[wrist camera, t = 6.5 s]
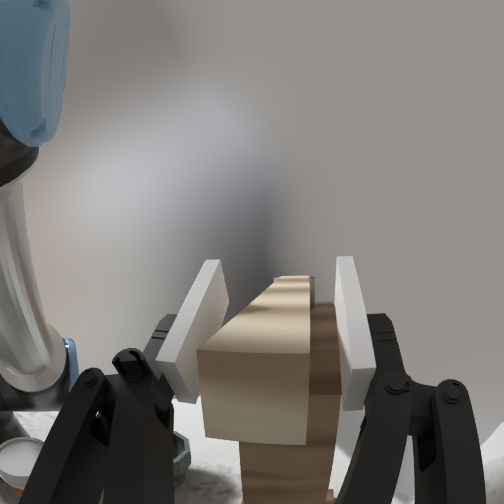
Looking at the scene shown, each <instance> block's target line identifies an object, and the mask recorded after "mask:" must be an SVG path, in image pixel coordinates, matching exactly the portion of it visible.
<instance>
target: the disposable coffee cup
mask: <svg viewBox="0 0 504 504" xmlns="http://www.w3.org/2000/svg"><path fill="white" fill-rule="evenodd" d="M43 444H44V442H43V441H41V440H39V439H35V438H30V437H20V438H14V439H11V440H8V441H6V442H4V443H2V444H1V445H0V477H1V478H2V479H3V480H4V481H6V482H7V483H8V484H9V485H10V487H11V488H12V489H13V490H14V492H15V493H16V494H17V495H18V497H19V498H20V499H21V496H22V493H23V491H24V488H25V486H26V483H27V481H28V478H29V476H30V474H31V471H32V469H33V467H34V464H35V462H36V460H37V457H38V455H39V453H40V451H41V449H42V446H43Z"/></svg>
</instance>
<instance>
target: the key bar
mask: <svg viewBox="0 0 504 504" xmlns="http://www.w3.org/2000/svg"><path fill="white" fill-rule="evenodd" d="M314 308H315V287H314V277H312V276H281V277H276V278H274V283H273V284H272V285H271V286H270V287H268V288H267V289H266V290H265V291H264V292H263V293H262V294H261V295H259V296H258V297H257V298H256V299H255V300H254V301H253V302H251V303H250V304H249V305H248V306H247V307H246V308H245V309H243V310H242V311H241V312H240V313H239V314H238V315H237V316H235V317H234V318H233V319H232V320H231V321H229V322H228V323H227V324H226V325H225V326H224V327H222V328H221V329H220V330H219V331H218V332H217V333H215V334H214V335H213V336H212V337H211V338H209V339H208V340H207V341H206V342H205V343H204V344H202V345H201V346H200V347H199V348H198V349H197V361H198V372H199V383H200V393H201V402H202V411H203V420H204V428H205V436H206V437H209V438H216V439H223V440H231V441H240V442H251V443H264V444H283V445H306V432H307V416H308V397H309V371H310V310H311V309H314Z"/></svg>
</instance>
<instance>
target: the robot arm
mask: <svg viewBox="0 0 504 504" xmlns="http://www.w3.org/2000/svg"><path fill="white" fill-rule="evenodd" d="M69 12H70V9H69V1H68V0H0V445H1V444H2V443H4V442H6V441H8V440H11V439H14V438H20V437H30V436H29V434H28V433H27V432H26V431H25V429H24V428H23V427H22V425H21V424H20V423H19V421H18V420H17V418H16V417H15V415H14V413H13V412H14V411H20V412H40V411H60V412H59V414H58V416H57V418H56V420H55V422H54V424H53V426H52V428H51V430H50V432H49V434H48V436H47V438H46V440H45V442H44V444H43V446H42V449H41V451H40V453H39V455H38V457H37V460H36V462H35V464H34V467H33V469H32V471H31V474H30V476H29V478H28V481H27V483H26V486H25V488H24V491H23V493H22V496H21V499H20V501H19V504H98V503H99V500H100V497H101V494H102V491H103V488H104V498H103V504H174V476H173V427H174V408H173V404H172V403H171V401H172V398H173V396H174V395H175V397H176V398H177V400H178V401H179V402H185V403H191V404H196V401H197V398H198V395H199V392H200V383H199V372H198V361H197V349H198V348H199V347H200V346H201V345H202V344H204V343H205V342H206V341H207V340H208V339H209V338H211V337H212V336H213V335H214V334H215V333H217V332H218V331H219V330H220V328H221V325H222V322H223V319H224V316H225V313H226V310H227V307H228V304H229V300H228V295H227V290H226V286H225V281H224V276H223V271H222V266H221V261H220V260H206V261H205V263H204V264H203V266H202V268H201V270H200V272H199V274H198V276H197V278H196V280H195V282H194V284H193V286H192V288H191V290H190V292H189V293H188V295H187V297H186V299H185V301H184V303H183V305H182V307H181V309H180V311H179V313H178V315H177V314H167V315H166V316H165V317H164V318H163V319H162V320H160V321H159V323H158V325H157V327H156V329H155V331H154V332H153V334H152V336H151V338H150V340H149V342H148V344H147V346H146V347H145V349H144V351H143V353H142V352H141V351H140V350H138V349H136V348H129V349H124V350H122V351H121V352H119V353H118V354H117V355H116V356H115V357H114V358H113V360H112V364H113V365H114V367H115V368H116V370H117V371H118V373H119V374H113V375H104V374H103V372H102V371H101V370H100V369H98V368H89V369H86V370H85V371H83V372H82V373H81V374H80V375H79V369H78V361H77V353H76V347H75V343H74V341H73V340H72V339H70V338H65V337H61V336H60V334H59V333H58V332H57V331H56V329H55V328H54V327H52V326H51V325H50V324H48V323H47V321H46V318H45V314H44V311H43V307H42V304H41V300H40V296H39V292H38V288H37V283H36V279H35V275H34V270H33V265H32V260H31V254H30V248H29V242H28V236H27V228H26V221H25V211H24V201H23V187H22V179H23V178H24V177H25V176H26V174H27V173H28V172H29V171H30V170H31V169H32V168H33V167H34V165H35V163H36V162H37V159H38V153H39V146H40V145H42V144H43V143H45V142H48V141H49V140H51V139H52V138H53V136H54V134H55V132H56V130H57V127H58V123H59V118H60V113H61V107H62V93H63V90H64V85H65V76H66V67H67V56H68V43H69V27H70V14H69ZM335 309H336V319H337V329H338V341H339V353H340V368H341V385H342V406H343V407H342V408H343V411H352V410H362V409H363V406H364V404H365V416H364V419H363V421H362V424H361V426H360V428H361V430H360V433H359V437H358V440H357V443H356V446H355V450H354V453H353V456H352V459H351V462H350V465H349V468H348V471H347V474H346V476H345V479H344V482H343V484H342V487H341V490H340V492H339V495H338V497H337V500H336V502H335V504H391V502H392V498H393V495H394V492H395V488H396V484H397V481H398V477H399V472H400V469H401V464H402V459H403V455H404V451H405V446H406V441H407V435H410V436H412V441H413V454H414V476H415V504H486V492H485V481H484V471H483V464H482V456H481V450H480V444H479V438H478V433H477V428H476V423H475V419H474V414H473V410H472V406H471V402H470V398H469V394H468V391H467V389H466V387H465V386H464V385H463V384H462V383H461V382H459V381H457V380H454V379H448V380H445V381H442V382H441V383H440V384H439V385H438V386H437V387H435V386H428V385H423V384H419V383H417V382H415V381H413V380H412V379H411V378H410V376H408V375H407V374H406V372H405V369H404V366H403V362H402V358H401V353H400V349H399V345H398V342H397V338H396V335H395V331H394V327H393V324H392V321H391V320H390V319H389V318H388V316H386V314H385V313H382V314H366V311H365V306H364V302H363V298H362V293H361V289H360V285H359V281H358V277H357V273H356V269H355V265H354V261H353V257H352V256H341V257H337V266H336V287H335ZM97 412H99V413H98V414H97ZM96 414H97V416H96ZM30 438H31V437H30ZM0 479H2V478H1V477H0Z"/></svg>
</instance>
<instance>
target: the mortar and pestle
mask: <svg viewBox="0 0 504 504" xmlns="http://www.w3.org/2000/svg"><path fill="white" fill-rule="evenodd" d="M190 464H191V453H190V446H189V440H188V439H187V438H186V437H184V436H182V435H181V434H179V433H178V432H176V431H173V476H174V487H175V486H178V485H179V484H180V483H181V482H182V481H183V480H184V479H185V478H184V472H185V471H186V470H187V469H188V467H189V466H190Z"/></svg>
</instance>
